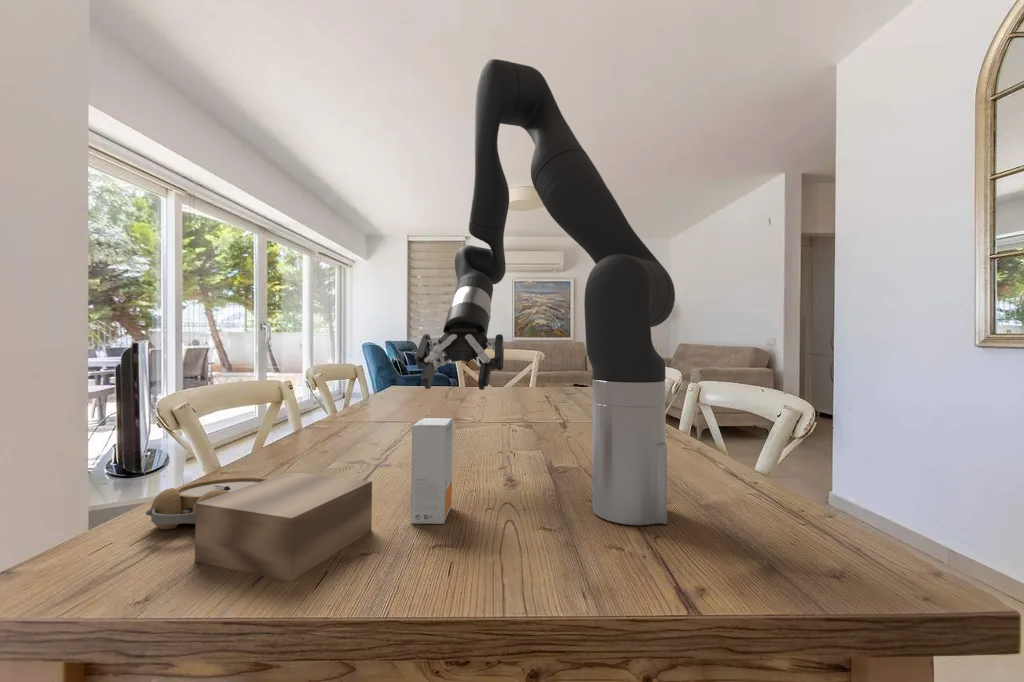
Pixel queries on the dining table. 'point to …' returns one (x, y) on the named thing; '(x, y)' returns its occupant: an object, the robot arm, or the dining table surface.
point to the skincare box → (431, 470)
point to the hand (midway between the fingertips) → (453, 385)
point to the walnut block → (282, 524)
